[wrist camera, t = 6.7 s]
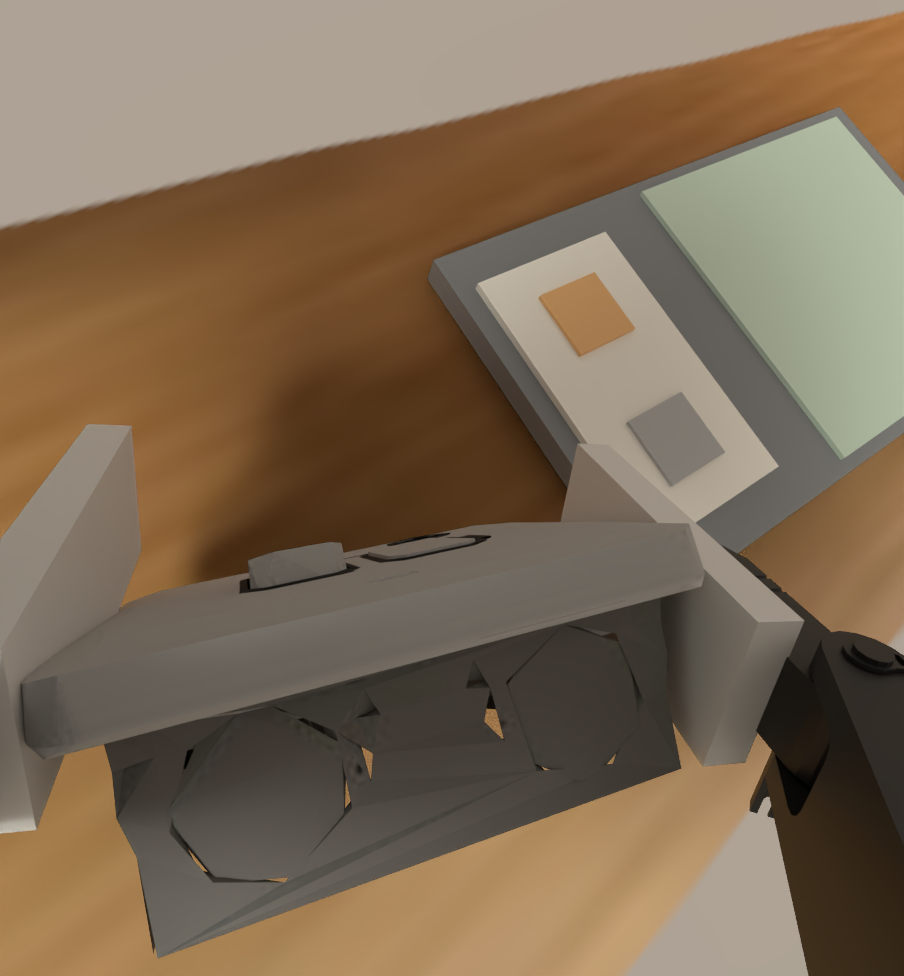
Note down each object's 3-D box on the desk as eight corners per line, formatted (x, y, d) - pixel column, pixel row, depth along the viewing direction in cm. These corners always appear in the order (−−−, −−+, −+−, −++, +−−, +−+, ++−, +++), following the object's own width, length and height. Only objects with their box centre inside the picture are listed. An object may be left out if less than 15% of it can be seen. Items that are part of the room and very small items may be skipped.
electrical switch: (491, 525, 19) (681, 413, 10) (538, 711, 18) (792, 762, 9) (132, 600, 16) (-28, 532, 7) (167, 824, 15) (28, 1052, 6)
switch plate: (649, 610, 20) (674, 602, 19) (427, 278, 23) (436, 250, 21) (1011, 349, 29) (1047, 330, 27) (822, 125, 31) (847, 98, 29)
